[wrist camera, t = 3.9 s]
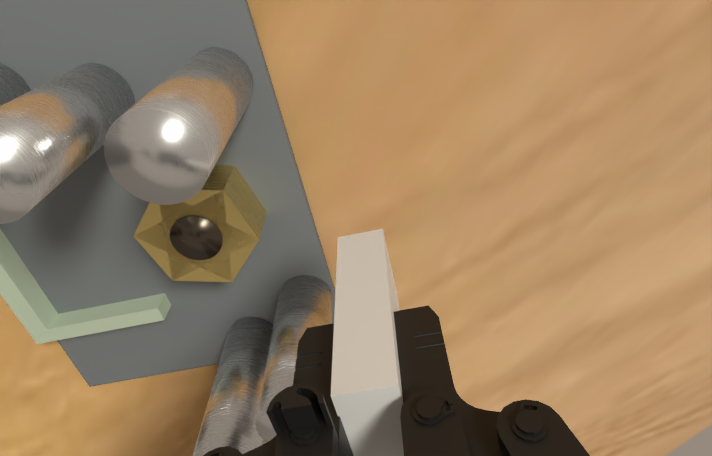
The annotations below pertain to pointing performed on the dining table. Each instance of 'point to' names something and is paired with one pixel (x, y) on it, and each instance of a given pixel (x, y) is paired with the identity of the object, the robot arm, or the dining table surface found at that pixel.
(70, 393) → the dining table surface
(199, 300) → the mat
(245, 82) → the spacer posts
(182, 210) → the nut
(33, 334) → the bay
